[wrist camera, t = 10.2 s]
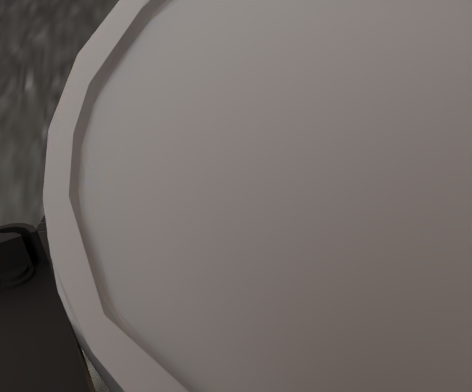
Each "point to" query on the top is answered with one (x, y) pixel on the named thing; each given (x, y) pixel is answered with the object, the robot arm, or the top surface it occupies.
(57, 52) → the top surface
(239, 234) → the disposable coffee cup
